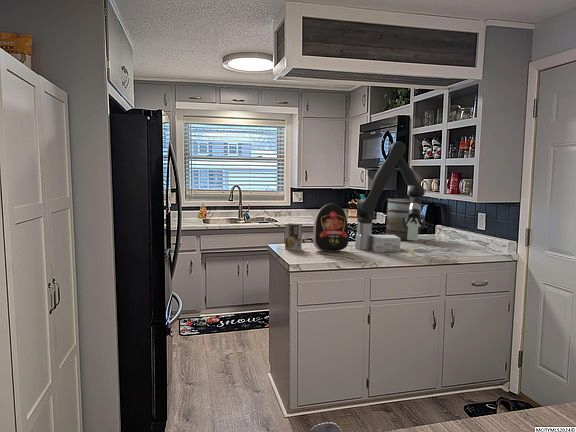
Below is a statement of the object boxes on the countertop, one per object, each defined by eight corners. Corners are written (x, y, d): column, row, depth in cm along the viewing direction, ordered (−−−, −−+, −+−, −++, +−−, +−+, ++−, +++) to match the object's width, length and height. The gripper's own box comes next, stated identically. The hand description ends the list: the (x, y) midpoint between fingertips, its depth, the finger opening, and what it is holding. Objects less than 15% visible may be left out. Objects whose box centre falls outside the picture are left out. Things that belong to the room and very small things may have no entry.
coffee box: (301, 249, 272) (302, 224, 270) (297, 250, 266) (298, 225, 264) (288, 247, 276) (289, 222, 274) (284, 249, 270) (285, 224, 268)
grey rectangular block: (417, 240, 259) (418, 223, 258) (407, 239, 261) (408, 222, 260) (417, 238, 268) (418, 221, 266) (407, 237, 269) (408, 221, 268)
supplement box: (393, 248, 288) (394, 234, 286) (400, 252, 275) (401, 237, 273) (368, 247, 286) (369, 234, 285) (374, 251, 273) (375, 237, 272)
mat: (418, 254, 270) (418, 253, 270) (406, 250, 281) (406, 249, 281) (433, 253, 274) (433, 252, 274) (421, 249, 285) (421, 248, 285)
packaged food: (316, 254, 258) (318, 204, 255) (309, 247, 278) (311, 202, 274) (351, 254, 262) (353, 205, 258) (342, 248, 281) (344, 202, 278)
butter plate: (409, 257, 258) (409, 251, 257) (397, 253, 269) (397, 247, 268) (425, 256, 262) (425, 250, 262) (412, 252, 273) (413, 246, 273)
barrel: (401, 235, 343) (404, 198, 340) (422, 240, 323) (425, 200, 320) (379, 236, 333) (382, 198, 330) (399, 241, 313) (402, 201, 310)
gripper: (403, 207, 271) (400, 228, 261) (426, 208, 267) (425, 230, 257) (403, 214, 277) (400, 235, 267) (426, 216, 272) (424, 237, 263)
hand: (412, 232), depth 262 cm, fingers closed on grey rectangular block, 6 cm apart
